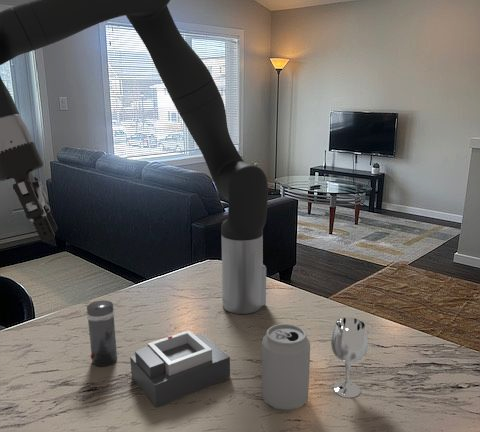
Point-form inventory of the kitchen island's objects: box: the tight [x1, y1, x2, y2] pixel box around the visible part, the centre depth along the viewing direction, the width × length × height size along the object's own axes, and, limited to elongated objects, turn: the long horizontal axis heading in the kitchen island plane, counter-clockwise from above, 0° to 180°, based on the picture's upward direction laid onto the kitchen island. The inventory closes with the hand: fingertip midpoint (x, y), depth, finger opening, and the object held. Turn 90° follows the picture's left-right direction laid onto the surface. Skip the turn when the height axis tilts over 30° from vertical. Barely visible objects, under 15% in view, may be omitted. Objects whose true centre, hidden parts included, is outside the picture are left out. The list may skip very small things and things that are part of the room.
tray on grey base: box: [129, 329, 231, 408], centre depth 82 cm, size 14×10×6 cm
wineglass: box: [330, 316, 369, 399], centre depth 78 cm, size 6×6×12 cm
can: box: [261, 323, 311, 412], centre depth 75 cm, size 8×8×12 cm
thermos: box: [86, 299, 118, 368], centre depth 87 cm, size 5×5×11 cm
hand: (50, 236), depth 82 cm, fingers open, 8 cm apart
